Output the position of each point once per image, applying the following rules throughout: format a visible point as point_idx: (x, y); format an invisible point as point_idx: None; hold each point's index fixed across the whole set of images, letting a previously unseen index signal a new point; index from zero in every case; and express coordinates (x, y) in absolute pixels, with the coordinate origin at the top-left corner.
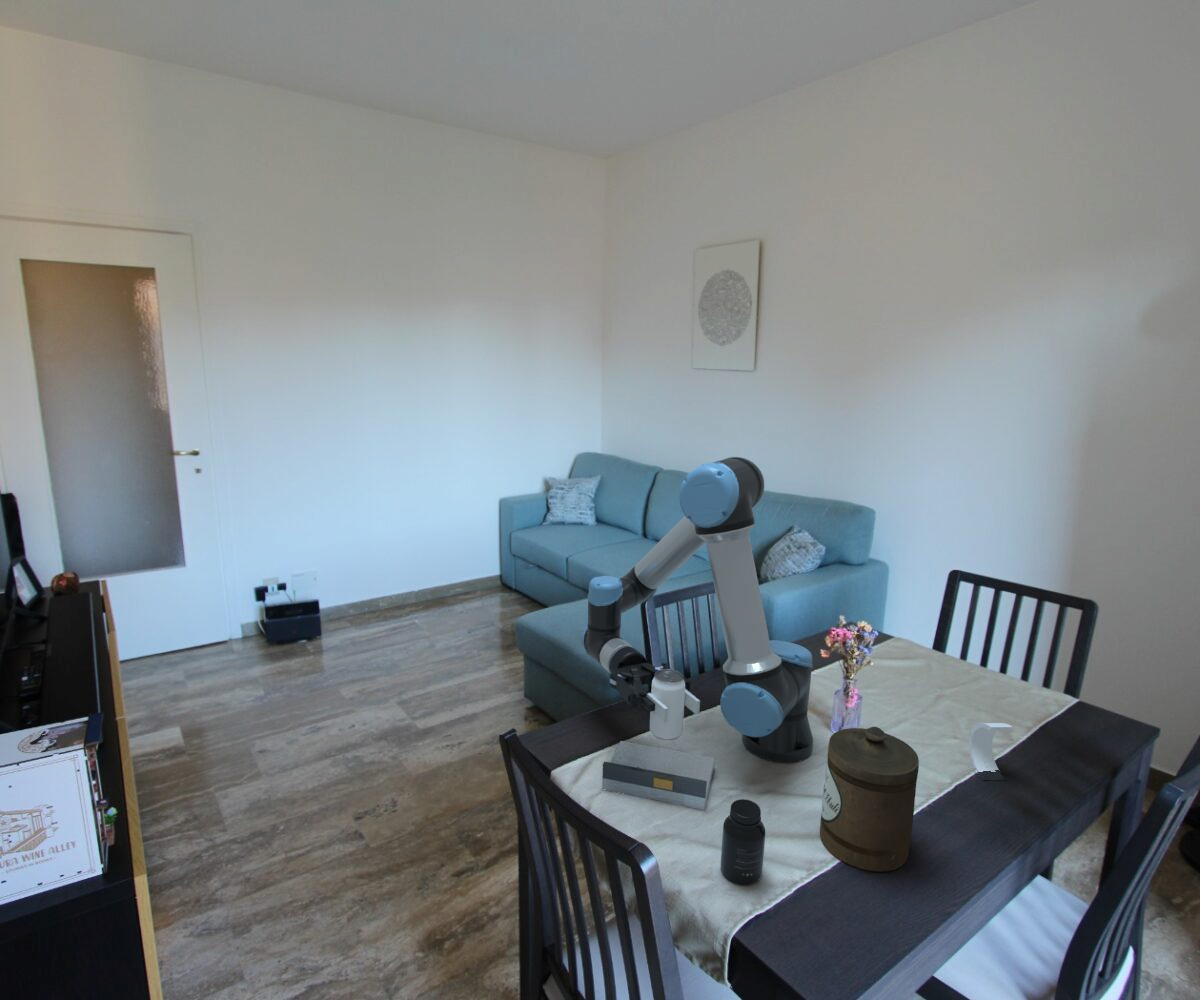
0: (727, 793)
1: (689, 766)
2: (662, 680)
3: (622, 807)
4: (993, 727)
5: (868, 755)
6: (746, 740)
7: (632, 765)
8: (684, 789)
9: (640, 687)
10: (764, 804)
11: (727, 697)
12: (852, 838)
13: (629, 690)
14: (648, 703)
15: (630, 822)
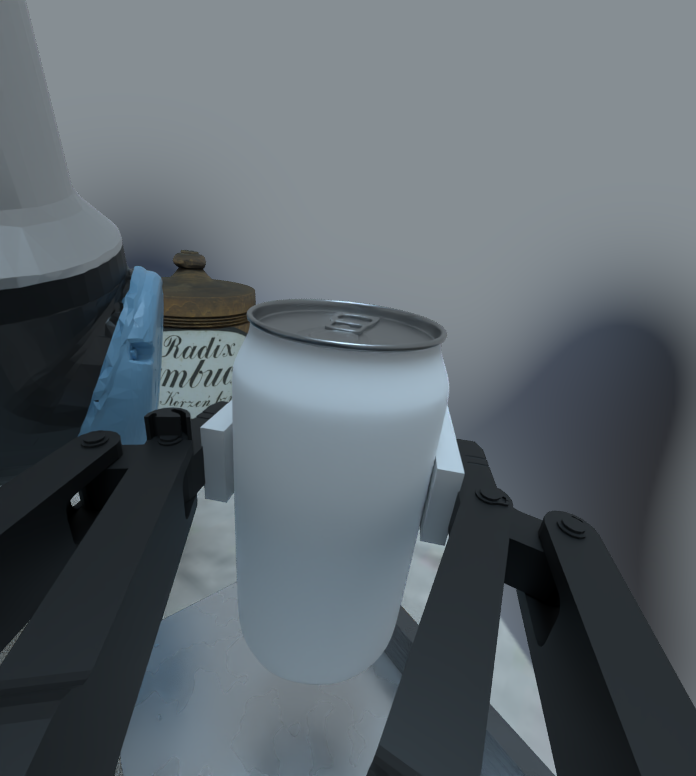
0: (216, 572)
1: (217, 668)
2: (411, 331)
3: (503, 710)
4: None
5: (219, 283)
6: None
7: None
8: None
9: (473, 560)
10: (202, 511)
11: (152, 355)
12: None
13: (602, 575)
14: (482, 451)
15: (498, 638)
